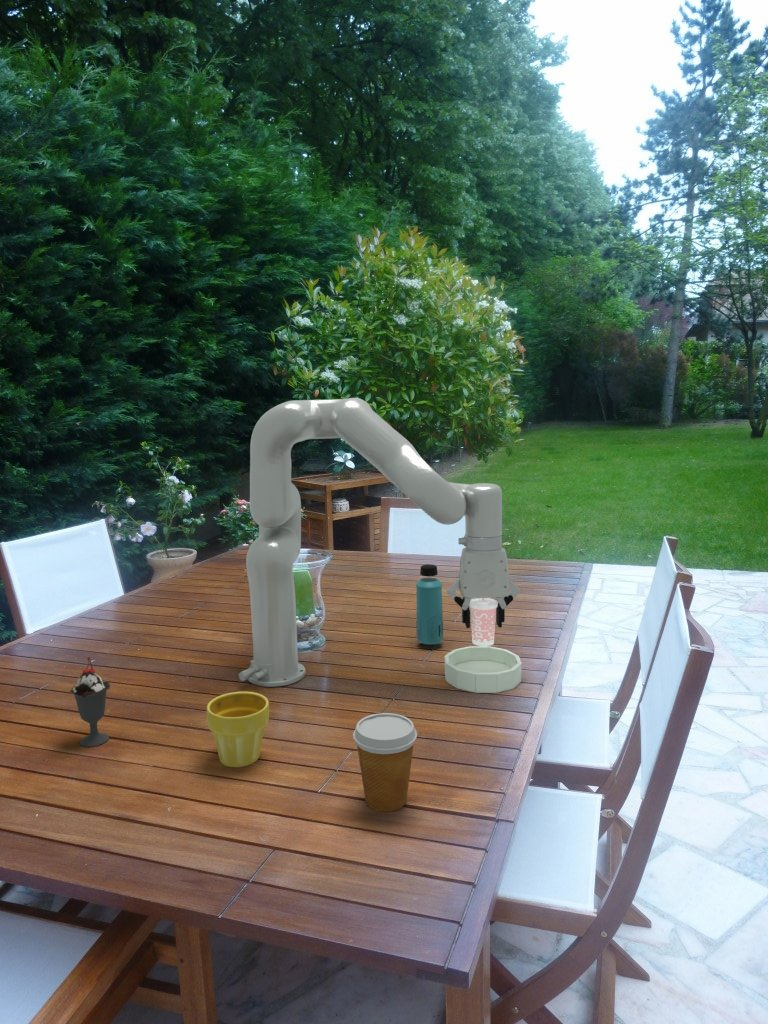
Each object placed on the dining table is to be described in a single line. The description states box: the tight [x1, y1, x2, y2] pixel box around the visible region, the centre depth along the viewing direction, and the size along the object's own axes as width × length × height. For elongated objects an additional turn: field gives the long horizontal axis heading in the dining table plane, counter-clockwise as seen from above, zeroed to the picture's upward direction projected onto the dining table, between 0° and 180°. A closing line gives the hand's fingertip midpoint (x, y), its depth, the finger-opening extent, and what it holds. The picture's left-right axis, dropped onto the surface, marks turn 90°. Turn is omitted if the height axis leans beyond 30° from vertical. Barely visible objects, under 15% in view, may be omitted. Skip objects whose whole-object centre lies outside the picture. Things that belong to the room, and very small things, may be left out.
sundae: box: [69, 656, 111, 748], centre depth 126 cm, size 7×7×15 cm
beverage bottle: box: [415, 564, 444, 645], centre depth 170 cm, size 6×7×20 cm
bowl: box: [444, 645, 523, 694], centre depth 153 cm, size 16×16×4 cm
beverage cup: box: [469, 598, 498, 647], centre depth 150 cm, size 6×6×14 cm
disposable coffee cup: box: [352, 712, 418, 813], centre depth 107 cm, size 10×10×12 cm
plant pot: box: [206, 691, 270, 768], centre depth 120 cm, size 10×10×10 cm
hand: (483, 625), depth 151 cm, fingers closed on beverage cup, 6 cm apart
